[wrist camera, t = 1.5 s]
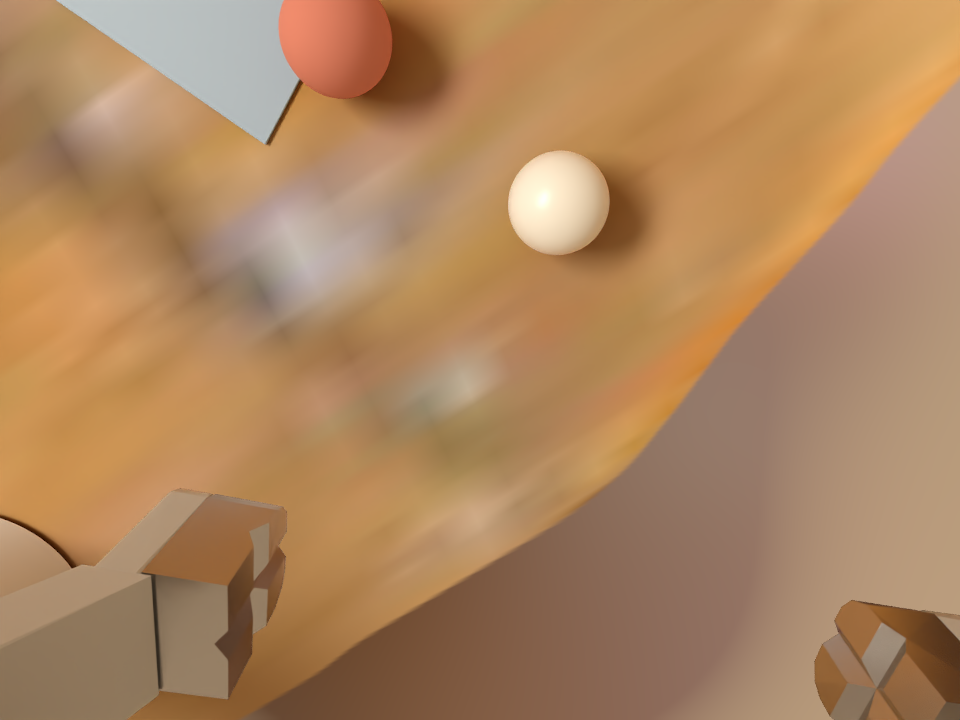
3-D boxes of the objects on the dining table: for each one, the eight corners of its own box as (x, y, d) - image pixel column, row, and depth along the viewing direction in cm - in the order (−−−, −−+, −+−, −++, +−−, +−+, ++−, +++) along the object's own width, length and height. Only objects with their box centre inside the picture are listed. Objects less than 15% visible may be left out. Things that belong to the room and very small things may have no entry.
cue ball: (560, 265, 34) (574, 283, 29) (488, 212, 33) (488, 221, 28) (618, 189, 32) (643, 193, 27) (543, 131, 31) (555, 124, 26)
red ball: (366, 124, 31) (343, 116, 26) (281, 62, 30) (239, 41, 25) (418, 34, 30) (404, 6, 24) (330, -34, 29) (296, -78, 23)
